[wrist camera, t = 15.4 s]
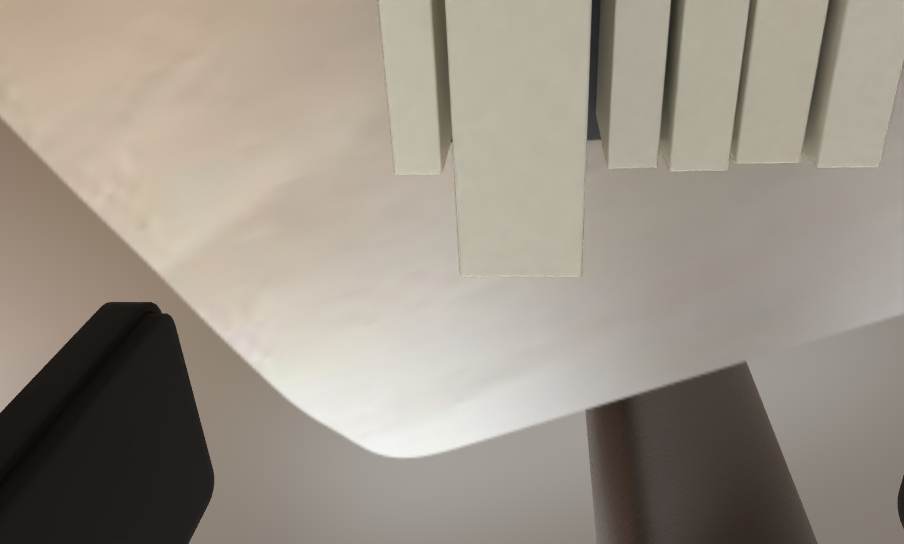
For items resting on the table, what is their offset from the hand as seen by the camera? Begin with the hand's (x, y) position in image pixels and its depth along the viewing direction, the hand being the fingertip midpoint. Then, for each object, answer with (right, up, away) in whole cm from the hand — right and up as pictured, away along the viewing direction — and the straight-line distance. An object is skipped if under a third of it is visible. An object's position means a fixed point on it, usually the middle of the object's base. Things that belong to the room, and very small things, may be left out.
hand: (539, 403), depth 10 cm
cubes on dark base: (+6, +11, +17) cm, 21 cm away
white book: (+1, +10, +17) cm, 20 cm away
